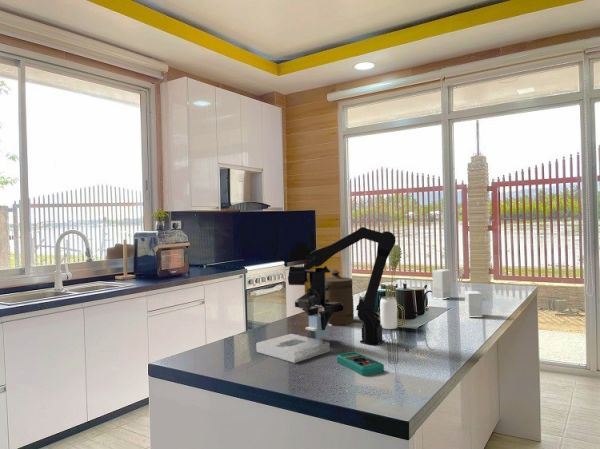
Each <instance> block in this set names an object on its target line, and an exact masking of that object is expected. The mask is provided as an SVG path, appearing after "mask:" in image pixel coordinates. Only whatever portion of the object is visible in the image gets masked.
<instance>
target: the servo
mask: <svg viewBox="0 0 600 449" xmlns="http://www.w3.org/2000/svg"><path fill="white" fill-rule="evenodd" d="M332 326H333V325H332V324H329V321H328V323H327V326H326V328H325V330H322V326H321V315H320V314H319V313H318V314H314V315H310V316H308V326H305V327H304V328H305V330H306V331H307V337H308V338H313V339H317V340H320V339H322V338H325V337H329V336H330V328H331V327H332Z"/></svg>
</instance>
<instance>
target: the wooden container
mask: <svg viewBox="0 0 600 449" xmlns="http://www.w3.org/2000/svg"><path fill="white" fill-rule="evenodd" d="M330 273H331V275H330V276H329V277H327V276H326V287H327V288H328V291H326V299H329V302H341V303H342V304H343V311H339V312H335V313H332V315H331V317H330V319H329V324H332V326H337V325H338V326H342V325H348V324H352V323H354V321H355V318H354V317H355V316H354V294H353V292H354V291H353V284H354V283H353V278H351V277H345V276H344V277H342V276H340V271H339V270H338V269H333V270H331V272H330ZM329 302H326V303H329ZM320 311H322V308H319V307H318V313H319V312H320Z"/></svg>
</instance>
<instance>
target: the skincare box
mask: <svg viewBox="0 0 600 449" xmlns="http://www.w3.org/2000/svg"><path fill="white" fill-rule="evenodd" d="M431 272H432V298H433V297H436V298H446V297H450V296H451V297H452V290H451V288H452V286H451V285H452V284H451V280H452V279H451V269H444V268H440V269H439V268H438V269H435V270H434V269H433V270H432V271H431Z"/></svg>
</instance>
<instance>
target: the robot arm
mask: <svg viewBox="0 0 600 449" xmlns="http://www.w3.org/2000/svg"><path fill="white" fill-rule="evenodd" d="M363 239H364V240H368V241H371V242H374V243H377V247H376V256H375V261H374V264H373V267H372V271H371V274H370V278H369V282H368V284H367V288H366V292H365V294H364V295H363V296H359V297H358V298H359V299H358V303H357V305H356V310H355V311H357V317H358V319H359V320H360V321H361V322H363V323H362V326H361V340H359V343H361V344H362V343H363V344H366V345H372V346H377V345H379V344H383V343H385V342H386V340H385V339H383V328H382V325H381V318H380V314H378V313H377V312H376V311H375V310H376V302H377V295H378V292H379V287H380V284H381V282H382V281H381V280H382V277H383V274H384V270H385V267H386V264H387V260H388V258H389V256H390V254H391V253H392V250H393V248H394V247H395V244H396V242H397V241H396V236H395V235H394V233H393V232H391V231H389V230H385V231H382V232H381V231H377V230H373V229H371V228H367V227H365V226H362V227H359V228H358V229H357V230H355V231H353V232H351V233H349V234H348V235H346V236H344V237H342V238H340V239H338V240H337V241H335V242H333V243H332V244H329V245H325V246H323V247H320V248H317V249H315V250H312V251H311V252H310V253H309V254H308V258H307V260H308V261H307V262H306V263H305V264H304V266H295V265H294V266H293V265H290V266H289V270H288V276H287V280H288V281H287V282H288V286H305V285H306V283H308V282H309V287H308V288H307V289H306V293H305V294H303V295H302V296H300V297H299V298H296V299H295V301H294V307H295V308H299V309H301V310H302V311H304V312H305V313H306V314H307V316H308V317H309V316H310V315H314V314H320V315H321V326H322V330H325V328H326V326H327V323H328V321H329V319H330V317H331V315H332V313H335V312H339V311H343V304H342V303H341V302H329V299H326V291H328V288H327V287H326V278H327V276H326V274H329V273H331V272H332V270H331V269H330V268H329V267H328V265H324V267H321V266H322V265H323V264H325V263H326V262H327V261H328V260H329V259H331V258H332V257H333V256H334V255H336V254H337V253H339V252H341V251H343V250H345V249H347V248H348V247H350V246H352V245H354V244H356V243H358V242H360V241H362V240H363ZM314 267H315V270H314V269H313V268H314ZM311 269H313V270H311ZM326 302H329V303H326ZM319 308H322V311H320V312H319Z"/></svg>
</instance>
